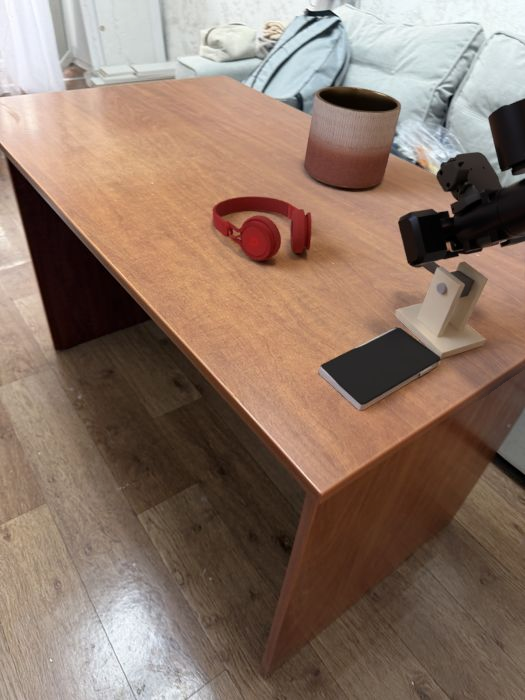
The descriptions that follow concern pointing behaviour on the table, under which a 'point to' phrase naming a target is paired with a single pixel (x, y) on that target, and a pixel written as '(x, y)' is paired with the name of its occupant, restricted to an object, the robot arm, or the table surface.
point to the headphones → (263, 226)
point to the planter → (351, 136)
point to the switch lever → (458, 274)
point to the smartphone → (378, 367)
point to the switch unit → (446, 313)
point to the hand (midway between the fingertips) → (421, 246)
